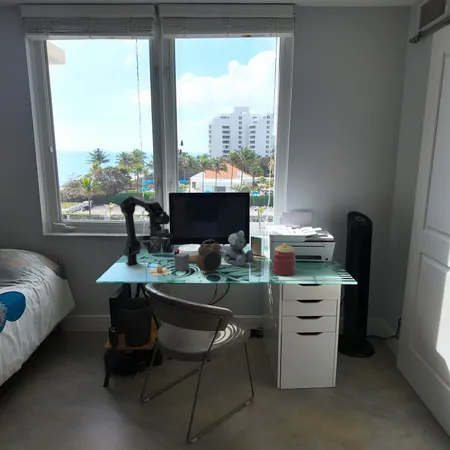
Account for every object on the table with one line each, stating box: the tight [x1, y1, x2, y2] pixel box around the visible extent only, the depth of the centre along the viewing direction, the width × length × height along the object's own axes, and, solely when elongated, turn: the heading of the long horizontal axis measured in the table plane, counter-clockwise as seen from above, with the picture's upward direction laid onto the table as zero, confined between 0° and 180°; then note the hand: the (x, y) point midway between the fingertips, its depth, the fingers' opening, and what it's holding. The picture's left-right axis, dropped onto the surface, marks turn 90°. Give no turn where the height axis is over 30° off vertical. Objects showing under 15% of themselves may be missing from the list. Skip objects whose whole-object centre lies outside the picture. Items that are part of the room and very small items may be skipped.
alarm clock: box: [195, 239, 222, 276], centre depth 201 cm, size 14×7×20 cm, turn 126°
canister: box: [272, 242, 297, 276], centre depth 203 cm, size 13×13×18 cm
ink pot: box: [156, 265, 163, 273], centre depth 204 cm, size 3×3×3 cm
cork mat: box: [146, 266, 173, 278], centre depth 205 cm, size 11×11×1 cm
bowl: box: [178, 243, 201, 263], centre depth 229 cm, size 16×16×8 cm
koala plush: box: [223, 230, 255, 267], centre depth 223 cm, size 17×18×20 cm
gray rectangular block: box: [174, 252, 190, 272], centre depth 208 cm, size 6×6×10 cm
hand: (156, 252), depth 197 cm, fingers open, 9 cm apart
